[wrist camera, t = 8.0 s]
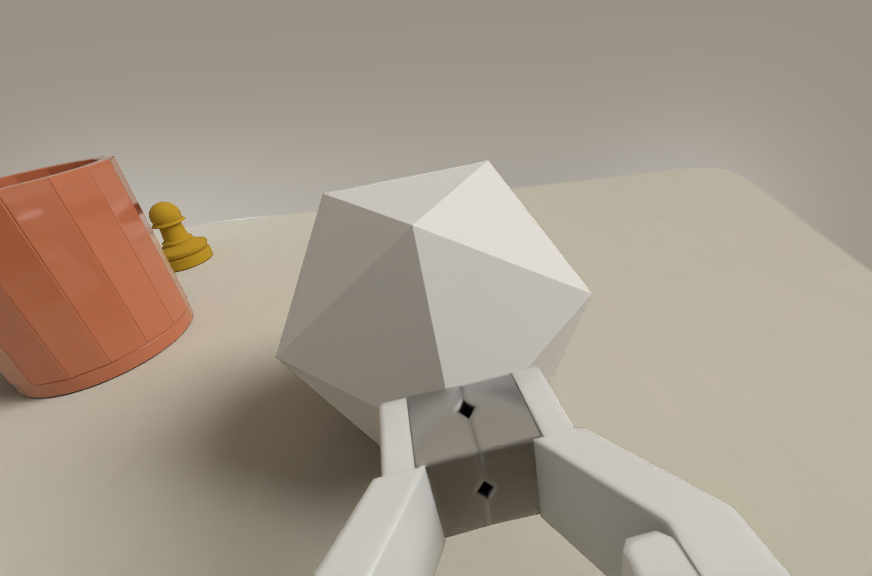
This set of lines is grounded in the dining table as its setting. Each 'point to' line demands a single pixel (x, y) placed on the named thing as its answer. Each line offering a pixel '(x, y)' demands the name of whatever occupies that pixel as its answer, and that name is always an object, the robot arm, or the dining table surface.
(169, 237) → the chess piece
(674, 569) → the robot arm
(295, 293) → the die
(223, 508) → the dining table surface
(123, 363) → the mug
